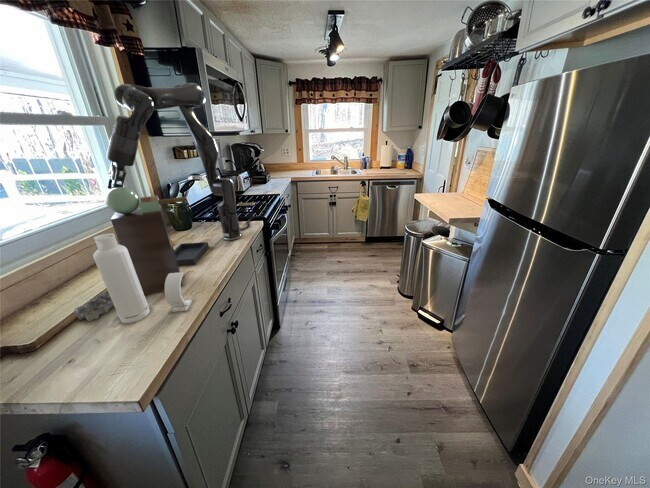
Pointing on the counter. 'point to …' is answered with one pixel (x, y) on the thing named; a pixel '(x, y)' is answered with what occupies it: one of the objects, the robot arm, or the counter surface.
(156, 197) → the wooden mallet
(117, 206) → the flask
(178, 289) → the headphone stand
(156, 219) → the stand
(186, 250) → the tray
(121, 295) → the bottle
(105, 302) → the grey rock
